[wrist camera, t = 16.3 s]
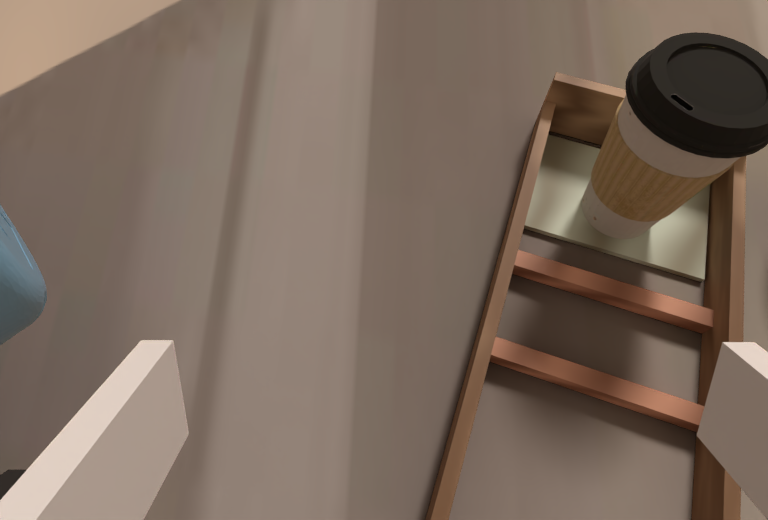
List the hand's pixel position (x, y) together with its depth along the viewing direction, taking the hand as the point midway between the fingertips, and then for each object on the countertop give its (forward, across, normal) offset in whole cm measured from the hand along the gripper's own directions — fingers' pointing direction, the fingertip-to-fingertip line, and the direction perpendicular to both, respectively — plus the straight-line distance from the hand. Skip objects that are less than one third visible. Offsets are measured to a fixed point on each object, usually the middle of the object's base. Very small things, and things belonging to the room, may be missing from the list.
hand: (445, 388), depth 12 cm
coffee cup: (+34, +19, -5) cm, 39 cm away
